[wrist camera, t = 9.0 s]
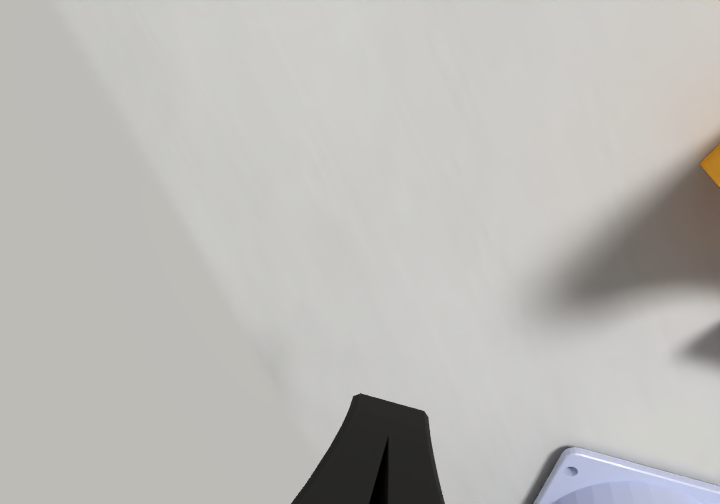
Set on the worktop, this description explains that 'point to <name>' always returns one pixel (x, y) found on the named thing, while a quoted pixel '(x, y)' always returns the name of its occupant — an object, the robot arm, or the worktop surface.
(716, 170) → the notched yellow bracket
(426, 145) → the worktop surface
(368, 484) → the robot arm
